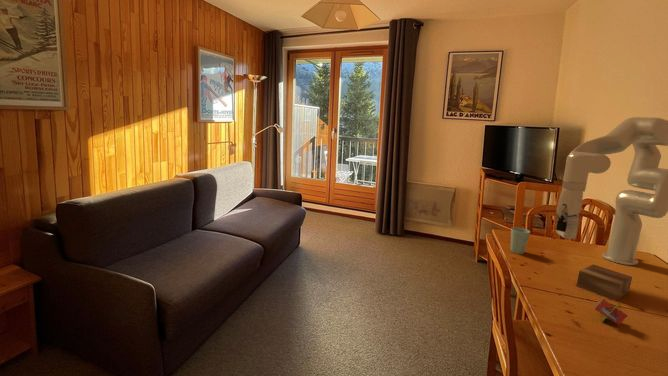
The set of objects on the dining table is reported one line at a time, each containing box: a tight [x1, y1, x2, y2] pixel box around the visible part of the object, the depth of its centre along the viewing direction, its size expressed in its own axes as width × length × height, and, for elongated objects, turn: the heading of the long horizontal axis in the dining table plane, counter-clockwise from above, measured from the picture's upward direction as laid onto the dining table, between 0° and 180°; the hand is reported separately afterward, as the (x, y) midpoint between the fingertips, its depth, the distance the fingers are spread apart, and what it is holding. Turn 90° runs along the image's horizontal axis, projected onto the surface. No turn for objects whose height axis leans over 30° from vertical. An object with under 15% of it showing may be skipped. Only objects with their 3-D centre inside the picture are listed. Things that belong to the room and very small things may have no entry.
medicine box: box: [555, 213, 580, 240], centre depth 137 cm, size 8×4×9 cm, turn 168°
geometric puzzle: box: [594, 298, 628, 326], centre depth 105 cm, size 7×7×8 cm
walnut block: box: [576, 264, 633, 302], centre depth 126 cm, size 12×12×6 cm
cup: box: [510, 227, 531, 255], centre depth 160 cm, size 8×8×10 cm
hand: (566, 228), depth 138 cm, fingers closed on medicine box, 8 cm apart
